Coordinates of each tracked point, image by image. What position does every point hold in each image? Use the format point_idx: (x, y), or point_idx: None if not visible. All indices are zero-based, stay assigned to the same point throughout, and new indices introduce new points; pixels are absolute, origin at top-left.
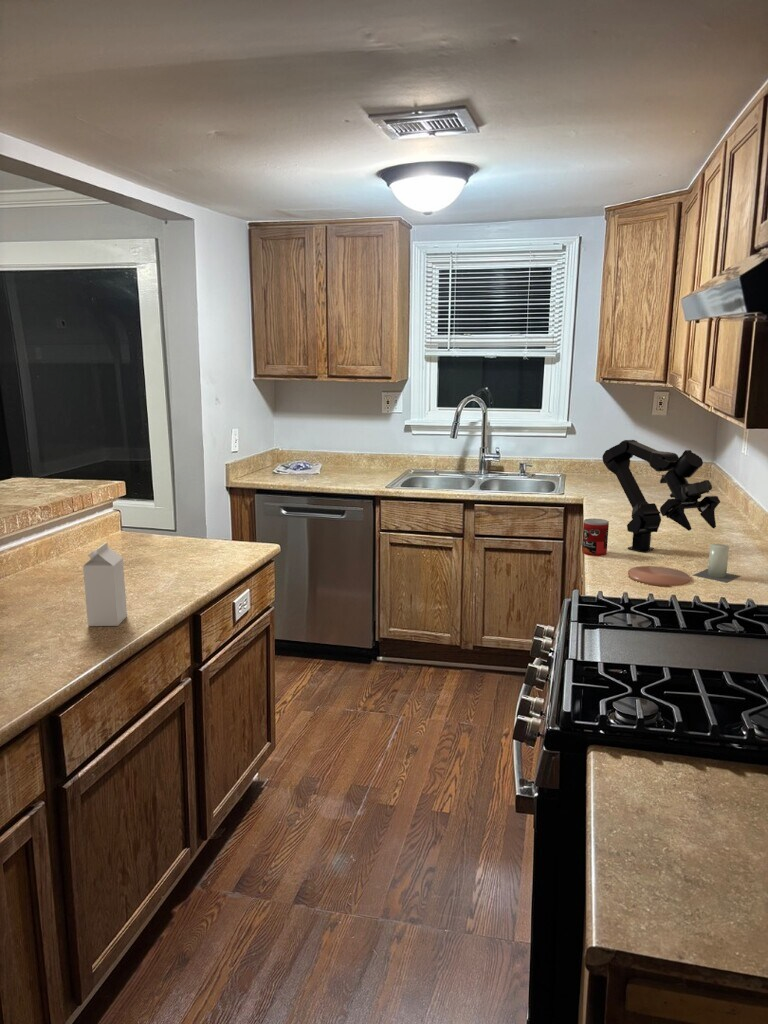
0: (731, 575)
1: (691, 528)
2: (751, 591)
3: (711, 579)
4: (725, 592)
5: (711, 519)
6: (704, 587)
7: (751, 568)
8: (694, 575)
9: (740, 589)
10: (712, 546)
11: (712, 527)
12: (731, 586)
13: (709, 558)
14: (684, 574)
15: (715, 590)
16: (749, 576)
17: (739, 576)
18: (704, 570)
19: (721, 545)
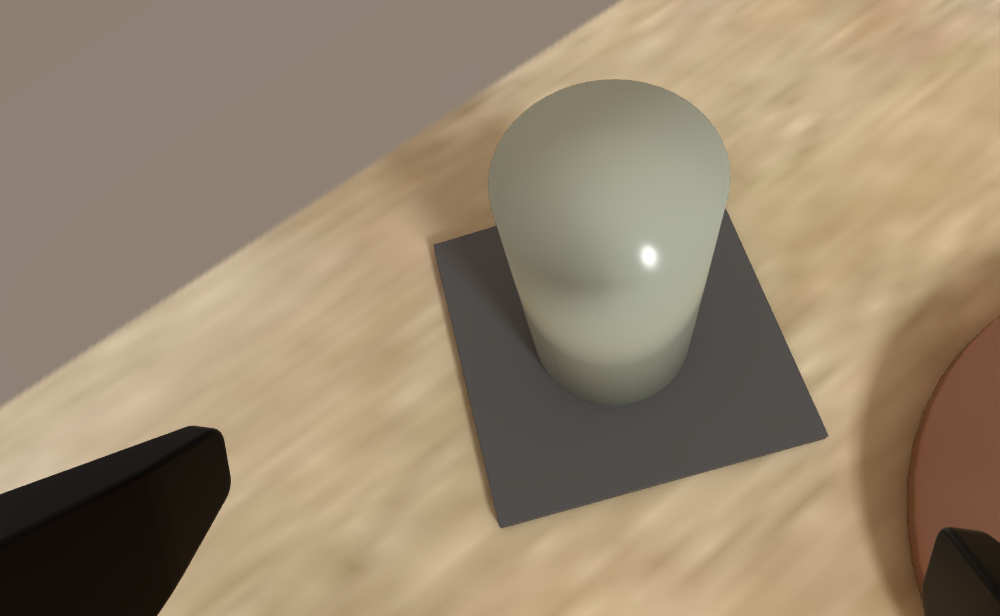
0: (491, 282)
1: (943, 531)
2: (679, 9)
3: (753, 271)
4: (885, 44)
5: (62, 557)
6: (961, 172)
7: (123, 386)
8: (816, 418)
9: (714, 57)
10: (728, 188)
11: (218, 504)
12: (717, 122)
13: (693, 308)
14: (980, 416)
15: (927, 95)
16: (356, 242)
17: (460, 239)
18: (576, 497)
19: (560, 183)
